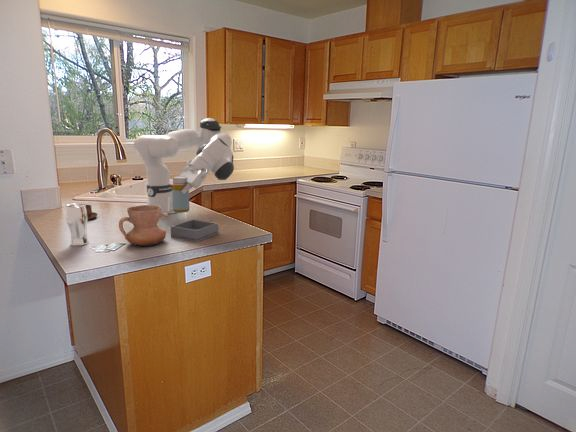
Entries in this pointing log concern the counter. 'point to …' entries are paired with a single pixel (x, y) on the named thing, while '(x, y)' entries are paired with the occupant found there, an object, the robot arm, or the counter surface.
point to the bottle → (180, 195)
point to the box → (194, 230)
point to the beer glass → (77, 223)
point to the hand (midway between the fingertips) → (179, 191)
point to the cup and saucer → (90, 212)
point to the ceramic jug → (144, 225)
